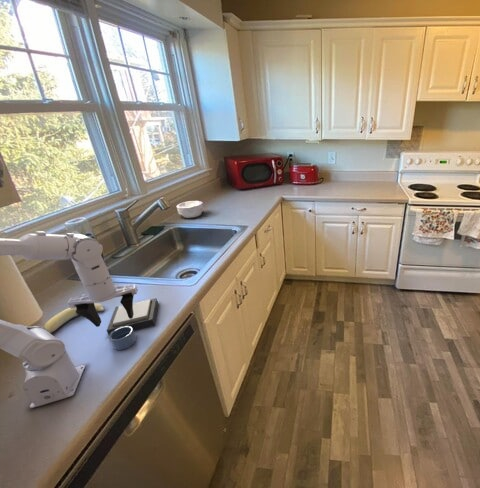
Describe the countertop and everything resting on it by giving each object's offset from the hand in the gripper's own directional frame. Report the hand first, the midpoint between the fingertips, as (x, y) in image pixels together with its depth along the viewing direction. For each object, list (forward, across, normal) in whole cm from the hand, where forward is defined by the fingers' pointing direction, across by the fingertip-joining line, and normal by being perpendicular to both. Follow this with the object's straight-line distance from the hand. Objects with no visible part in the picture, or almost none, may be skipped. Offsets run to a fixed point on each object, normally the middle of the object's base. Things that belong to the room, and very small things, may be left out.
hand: (115, 320), depth 77 cm
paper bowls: (+10, -18, -110) cm, 112 cm away
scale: (+9, -1, -11) cm, 14 cm away
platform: (+7, -1, -11) cm, 13 cm away
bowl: (+8, 0, 0) cm, 9 cm away
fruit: (+9, +17, -18) cm, 26 cm away
